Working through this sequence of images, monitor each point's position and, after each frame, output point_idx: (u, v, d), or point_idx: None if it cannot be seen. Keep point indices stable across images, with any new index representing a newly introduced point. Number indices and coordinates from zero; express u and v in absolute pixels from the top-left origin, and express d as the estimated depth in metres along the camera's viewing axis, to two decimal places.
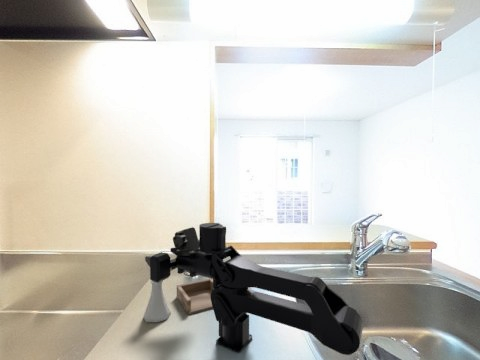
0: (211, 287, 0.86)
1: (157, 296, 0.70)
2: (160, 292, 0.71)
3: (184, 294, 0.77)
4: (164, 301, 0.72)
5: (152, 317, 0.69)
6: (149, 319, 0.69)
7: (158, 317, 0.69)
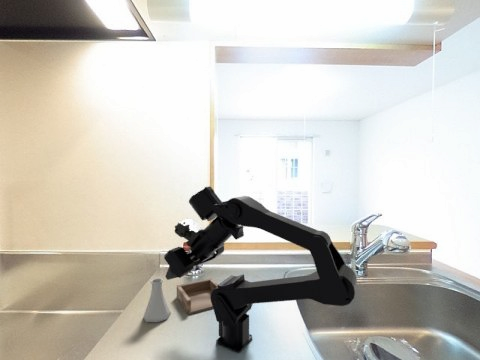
0: (211, 287, 0.86)
1: (157, 296, 0.70)
2: (160, 292, 0.71)
3: (184, 294, 0.77)
4: (164, 301, 0.72)
5: (152, 317, 0.69)
6: (149, 319, 0.69)
7: (158, 317, 0.69)
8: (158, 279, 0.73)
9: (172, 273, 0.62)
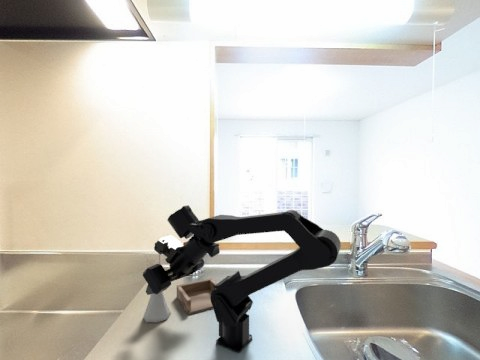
0: (211, 287, 0.86)
1: (157, 296, 0.70)
2: None
3: (184, 294, 0.77)
4: (164, 301, 0.72)
5: (152, 317, 0.69)
6: (149, 319, 0.69)
7: (158, 317, 0.69)
8: None
9: (151, 289, 0.65)
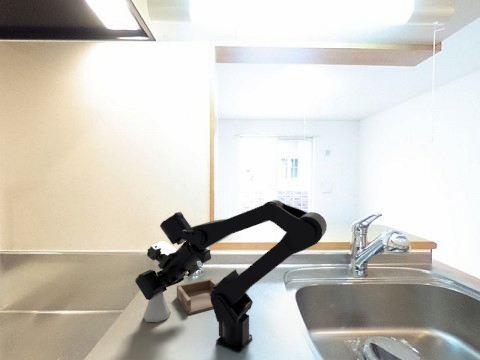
0: (211, 287, 0.86)
1: (157, 296, 0.70)
2: None
3: (184, 294, 0.77)
4: (164, 301, 0.72)
5: (152, 317, 0.69)
6: (149, 319, 0.69)
7: (158, 317, 0.69)
8: None
9: None
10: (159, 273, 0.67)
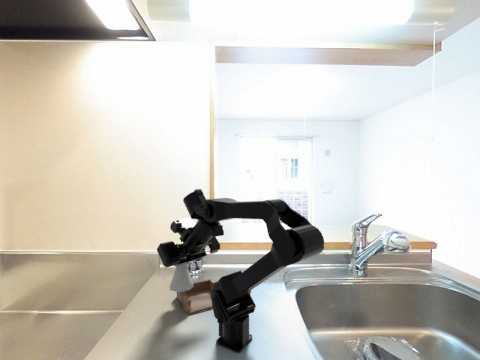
0: (211, 287, 0.86)
1: (181, 268, 0.76)
2: (183, 265, 0.76)
3: (184, 294, 0.77)
4: (187, 274, 0.77)
5: (175, 287, 0.74)
6: (173, 288, 0.75)
7: (180, 287, 0.74)
8: None
9: None
10: (180, 245, 0.72)
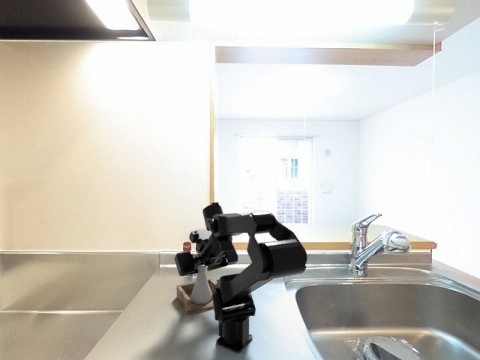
0: (211, 287, 0.86)
1: (200, 281, 0.79)
2: (202, 278, 0.79)
3: (184, 294, 0.77)
4: (206, 287, 0.79)
5: (194, 298, 0.78)
6: (191, 299, 0.78)
7: (198, 299, 0.77)
8: (204, 266, 0.81)
9: None
10: None
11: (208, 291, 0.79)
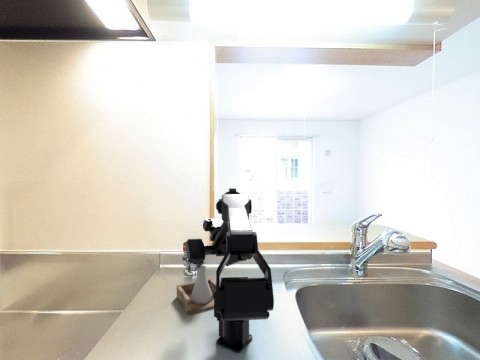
0: (211, 287, 0.86)
1: (200, 281, 0.79)
2: (202, 278, 0.79)
3: (184, 294, 0.77)
4: (206, 287, 0.79)
5: (194, 298, 0.78)
6: (191, 299, 0.78)
7: (198, 299, 0.77)
8: (204, 266, 0.81)
9: None
10: None
11: (208, 291, 0.79)
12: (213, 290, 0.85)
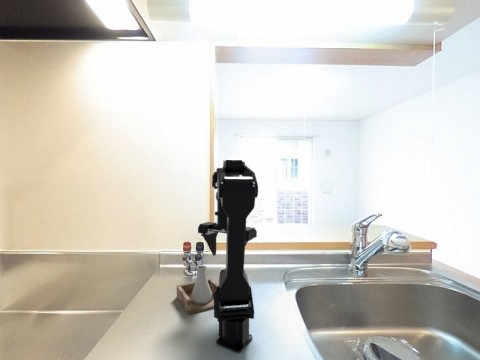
0: (211, 287, 0.86)
1: (200, 281, 0.79)
2: (202, 278, 0.79)
3: (184, 294, 0.77)
4: (206, 287, 0.79)
5: (194, 298, 0.78)
6: (191, 299, 0.78)
7: (198, 299, 0.77)
8: (203, 266, 0.81)
9: None
10: None
11: (208, 291, 0.79)
12: (213, 290, 0.85)
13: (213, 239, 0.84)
